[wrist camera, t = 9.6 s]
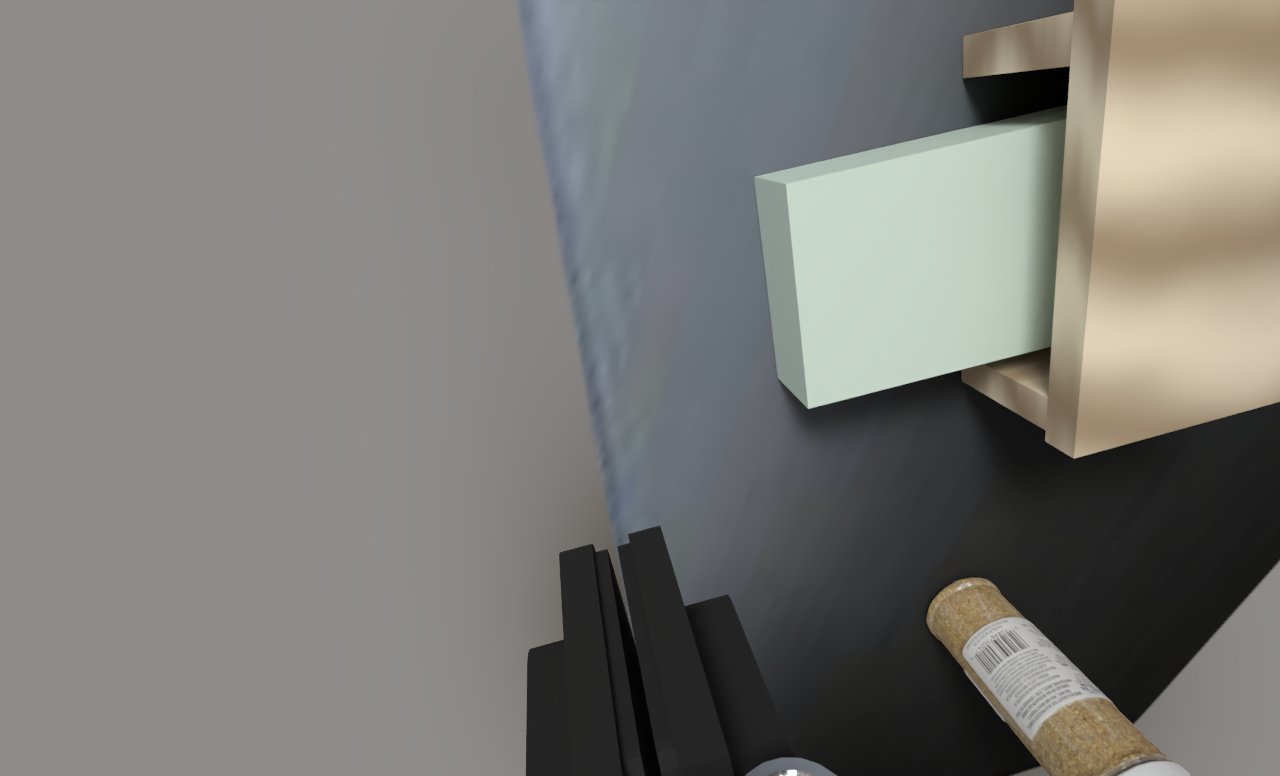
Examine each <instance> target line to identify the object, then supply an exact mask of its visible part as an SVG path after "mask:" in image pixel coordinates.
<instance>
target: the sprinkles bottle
mask: <svg viewBox="0 0 1280 776" xmlns="http://www.w3.org/2000/svg"><path fill="white" fill-rule="evenodd" d="M926 621H927V625H928V627H929V629H930V631H931V633H932V634H933V635H935V636H936V638H937V639H938V640H940V641H941V642H942V643H943V644H944V645H945V647H946V648H947V649H948V650H949V651H950V653H951V654H952V656H953V657H954V658H955V659H956V660H957V662H958V663H959V664H960V665H961V666H962V668H963V669H964V672H965V673H966V675H967V676H968V678H969V679H970V680H971V681H972V682H973V684H974V685H975V686H976V687H977V689H978V690H979V691H980V693H981V694H982V695H983V696H984V698H985V699H986V700H987V701H988V702H989V704H990V705H991V706H992V707H993V709H994V710H995V711H996V712H997V714H998V715H999V716H1000V717H1001V719H1002V720H1003V721H1005V722H1006V723H1007V724H1008V725H1009V726H1010V727H1011V729H1012V730H1013V731H1014V732H1015V734H1016V735H1017V736H1018V737H1019V739H1020V740H1021V741H1022V742H1023V744H1024V745H1025V746H1026V747H1027V749H1028V750H1029V751H1030V752H1031V753H1032V755H1033V756H1034V757H1035V758H1036V759H1037V761H1038V762H1039V763H1040V765H1041V766H1042V767H1043V768H1044V769H1045V770H1046V771H1047V773H1048V774H1049V775H1050V776H1191V775H1190V774H1189V773H1188V772H1187V771H1186V770H1185V769H1184V768H1182V767H1181V766H1180V765H1178V764H1175V763H1173V761H1172V759H1171V758H1169V757H1168V756H1166V755H1164V754H1162V753H1161V752H1160V751H1159V750H1158V749H1157V748H1156V747H1155V746H1154V745H1153V744H1152V743H1151V742H1150V741H1149V740H1148V739H1147V738H1146V737H1144V735H1143V734H1142V733H1141V732H1140V731H1138V730H1137V729H1136V728H1135V727H1134V725H1133V724H1132V723H1131V722H1130V721H1129V720H1128V719H1127V718H1126V717H1125V716H1124V715H1123V714H1122V713H1121V712H1120V711H1119V710H1118V709H1117V708H1116V706H1115V705H1114V704H1113V703H1112V702H1111V701H1110V700H1109V699H1108V698H1107V697H1106V696H1105V695H1104V694H1103V693H1102V692H1101V691H1100V690H1099V689H1098V688H1097V687H1096V686H1095V685H1094V684H1093V683H1092V682H1091V681H1090V680H1089V679H1088V678H1087V677H1086V676H1085V675H1084V674H1083V673H1082V672H1081V671H1080V670H1079V669H1078V668H1077V667H1076V666H1075V665H1074V664H1073V663H1072V662H1071V661H1070V660H1069V659H1068V658H1067V657H1066V656H1065V655H1064V654H1063V653H1062V652H1061V651H1060V650H1059V649H1058V648H1057V647H1056V646H1055V645H1054V644H1053V643H1052V642H1051V641H1049V640H1048V639H1047V638H1046V637H1045V636H1044V635H1043V634H1042V633H1041V632H1040V631H1039V630H1038V629H1037V628H1036V627H1035V626H1034V625H1033V624H1032V623H1031V622H1029V621H1028V620H1026V619H1025V618H1024V617H1023V616H1022V615H1021V614H1020V613H1019V612H1018V611H1017V610H1016V609H1015V608H1014V607H1013V606H1012V605H1011V604H1010V603H1009V602H1008V601H1007V600H1006V599H1005V598H1004V597H1003V596H1002V595H1001V594H1000V591H999V590H998V588H997V587H996V586H995V585H994V584H993V583H991V582H990V581H988V580H987V579H983V578H966V579H960V580H958V581H955V582H953V583H952V584H950V585H948V586H947V587H945V588H944V589H943V590H942V591H941V592H940V593H939V594H938V595H937V596H936V597H935V598H934V599H933V601H932V602H931V604H930V606H929V609H928V613H927V618H926Z"/></svg>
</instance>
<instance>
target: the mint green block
mask: <svg viewBox="0 0 1280 776" xmlns="http://www.w3.org/2000/svg"><path fill="white" fill-rule="evenodd" d="M1066 119H1067V105H1064V106H1060V107H1056V108H1051V109H1047V110H1043V111H1038V112H1034V113H1030V114H1025V115H1021V116H1017V117H1012V118H1008V119H1003V120H999V121H995V122H990V123H986V124H982V125H977V126H973V127H969V128H964V129H960V130H956V131H951V132H947V133H943V134H938V135H934V136H929V137H925V138H921V139H916V140H912V141H908V142H903V143H899V144H895V145H890V146H886V147H882V148H877V149H873V150H869V151H864V152H860V153H856V154H851V155H847V156H842V157H838V158H834V159H829V160H825V161H821V162H816V163H812V164H808V165H803V166H799V167H795V168H790V169H786V170H782V171H777V172H773V173H768V174H764V175H760V176H755V177H754V183H755V191H756V199H757V208H758V216H759V225H760V233H761V241H762V250H763V258H764V266H765V275H766V283H767V292H768V300H769V308H770V317H771V325H772V334H773V342H774V350H775V359H776V367H777V375H778V379H779V380H780V381H781V382H782V383H783V384H784V385H785V386H786V387H787V388H788V389H789V390H790V391H791V392H792V393H793V394H794V395H795V396H796V397H797V398H798V399H799V400H800V401H801V402H802V403H803V404H804V405H805V406H806V407H807V408H808V409H810V408H814V407H818V406H822V405H826V404H830V403H834V402H838V401H841V400H845V399H849V398H853V397H857V396H861V395H865V394H869V393H873V392H876V391H880V390H884V389H888V388H892V387H896V386H900V385H904V384H908V383H911V382H915V381H919V380H923V379H927V378H931V377H935V376H939V375H943V374H947V373H950V372H954V371H958V370H962V369H966V368H970V367H974V366H978V365H982V364H985V363H989V362H993V361H997V360H1001V359H1005V358H1009V357H1013V356H1017V355H1020V354H1024V353H1028V352H1032V351H1036V350H1040V349H1044V348H1048V347H1051V344H1052V329H1053V314H1054V299H1055V284H1056V269H1057V254H1058V239H1059V224H1060V209H1061V194H1062V179H1063V164H1064V149H1065V134H1066Z"/></svg>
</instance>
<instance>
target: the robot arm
mask: <svg viewBox="0 0 1280 776" xmlns="http://www.w3.org/2000/svg"><path fill="white" fill-rule="evenodd" d="M628 536H629V541H630V543H628V544H625V545H621V546H618V553H619V558H620V563H621V568H622V574H623V579H624V584H625V589H626V595H627V600H628V605H629V611H630V616H631V621H632V626H633V632H634V637H635V642H636V645H635V642H634V638H633V635H632V631H631V628H630V624H629V621H628V617H627V614H626V611H625V607H624V604H623V600H622V597H621V593H620V590H619V586H618V583H617V579H616V576H615V573H614V569H613V566H612V563H611V559H610V556H609V553H608V550H607V549H606V550H602V551H599V552H596V551H595V548H594V546H593V544H590V545H586V546H582V547H578V548H575V549H571V550H567V551H563V552H560V554H559V559H560V579H561V597H562V615H563V632H564V640H561V641H558V642H554V643H550V644H546V645H543V646H539V647H536V648H532V649H530V651H529V653H528V662H527V735H526V739H527V740H526V776H837V775H835V774H834V773H832V772H831V771H829V770H828V769H826V768H825V767H823V766H822V765H820V764H818V763H815V762H811V761H808V760H805V759H802V758H794V755H793V753H792V750H791V748H790V745H789V743H788V740H787V738H786V735H785V733H784V730H783V728H782V725H781V723H780V720H779V718H778V715H777V713H776V710H775V708H774V705H773V703H772V700H771V698H770V695H769V693H768V690H767V688H766V685H765V683H764V680H763V678H762V676H761V673H760V671H759V668H758V666H757V663H756V661H755V658H754V656H753V653H752V651H751V648H750V646H749V643H748V641H747V638H746V636H745V633H744V631H743V628H742V626H741V623H740V621H739V618H738V616H737V613H736V611H735V608H734V606H733V604H732V601H731V599H730V597H729V596H728V595H724V596H721V597H717V598H713V599H710V600H706V601H702V602H699V603H695V604H692V605H688V606H684V603H683V600H682V596H681V593H680V590H679V587H678V583H677V580H676V577H675V573H674V570H673V567H672V563H671V560H670V557H669V553H668V550H667V547H666V544H665V540H664V537H663V534H662V530H661V527H660V526H657V527H653V528H649V529H646V530H642V531H638V532H634V533H631V534H628ZM636 647H637V649H636Z"/></svg>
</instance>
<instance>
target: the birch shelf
mask: <svg viewBox="0 0 1280 776" xmlns="http://www.w3.org/2000/svg"><path fill="white" fill-rule="evenodd" d="M1067 66H1070V75H1069V90H1068V105H1067V119H1066V134H1065V149H1064V164H1063V179H1062V194H1061V209H1060V224H1059V239H1058V254H1057V269H1056V284H1055V299H1054V314H1053V329H1052V344H1051V347H1048V348H1044V349H1040V350H1036V351H1032V352H1028V353H1024V354H1020V355H1017V356H1013V357H1009V358H1005V359H1001V360H997V361H993V362H989V363H985V364H982V365H978V366H974V367H970V368H966V369H962V382H964V383H966V384H968V385H969V386H971V387H973V388H974V389H976V390H978V391H979V392H981V393H983V394H984V395H986V396H988V397H990V398H991V399H993V400H995V401H996V402H998V403H1000V404H1001V405H1003V406H1005V407H1007V408H1008V409H1010V410H1012V411H1013V412H1015V413H1017V414H1018V415H1020V416H1022V417H1023V418H1025V419H1027V420H1029V421H1030V422H1032V423H1034V424H1035V425H1037V426H1039V427H1040V428H1042V429H1044V430H1045V431H1046V434H1045V441H1046V442H1047V443H1049V444H1050V445H1052V446H1054V447H1055V448H1057V449H1059V450H1060V451H1062V452H1064V453H1065V454H1067V455H1068V456H1070V457H1072V458H1073V459H1075V458H1078V457H1082V456H1085V455H1089V454H1093V453H1096V452H1100V451H1103V450H1107V449H1111V448H1114V447H1118V446H1122V445H1125V444H1129V443H1132V442H1136V441H1140V440H1143V439H1147V438H1150V437H1154V436H1158V435H1161V434H1165V433H1168V432H1172V431H1176V430H1179V429H1183V428H1187V427H1190V426H1194V425H1197V424H1201V423H1205V422H1208V421H1212V420H1215V419H1219V418H1223V417H1226V416H1230V415H1234V414H1237V413H1241V412H1244V411H1248V410H1252V409H1255V408H1259V407H1262V406H1266V405H1270V404H1273V403H1277V402H1280V0H1074V11H1072V12H1068V13H1063V14H1059V15H1055V16H1050V17H1046V18H1042V19H1037V20H1033V21H1028V22H1024V23H1020V24H1015V25H1011V26H1006V27H1002V28H998V29H993V30H989V31H985V32H980V33H976V34H971V35H967V36H963V78H970V77H979V76H988V75H997V74H1005V73H1014V72H1023V71H1032V70H1041V69H1049V68H1058V67H1067Z"/></svg>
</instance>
